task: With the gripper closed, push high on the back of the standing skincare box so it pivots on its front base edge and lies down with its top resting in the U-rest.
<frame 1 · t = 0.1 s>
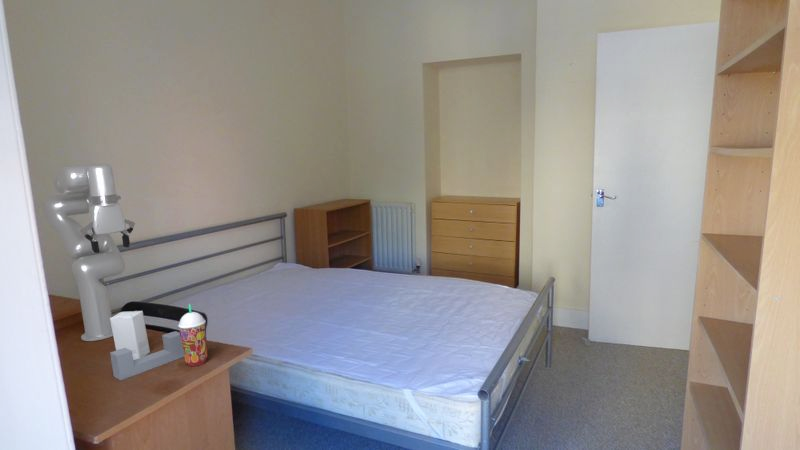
hand: (111, 249, 176), 36 cm above the table, tool pointing down, fingers open, 9 cm apart
skincare box: (133, 357, 174), on the table
u rest: (150, 365, 166), on the table
smoothie: (197, 363, 166), on the table
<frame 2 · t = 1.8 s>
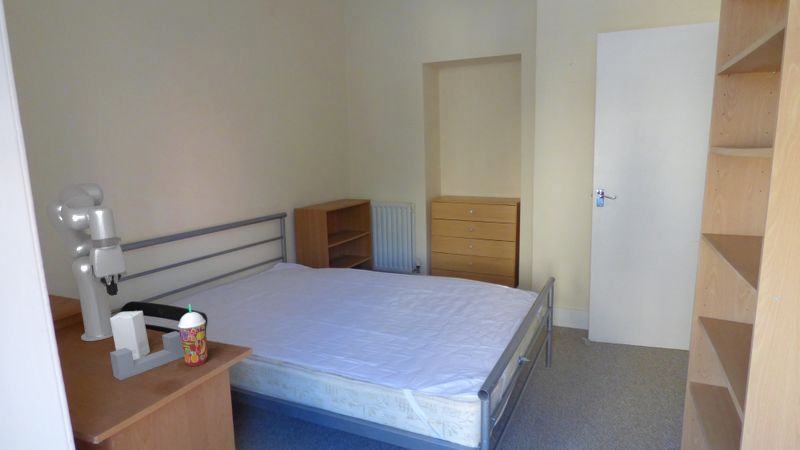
hand: (113, 294, 176), 21 cm above the table, tool pointing down, fingers closed
nothing on the table moved.
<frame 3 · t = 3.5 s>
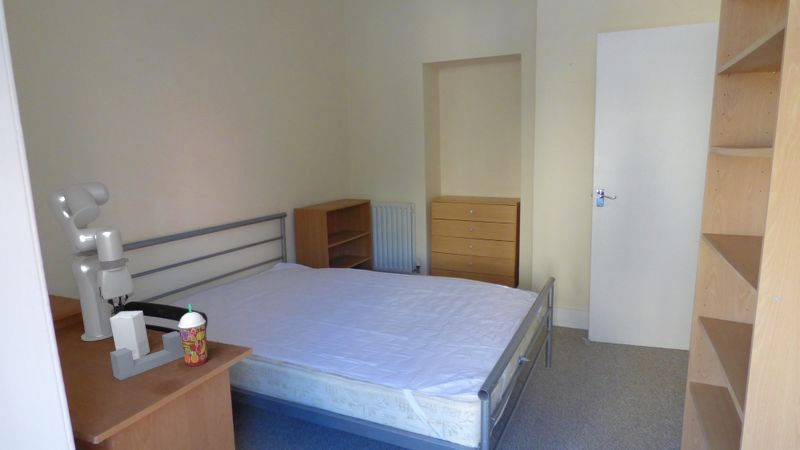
hand: (120, 315, 175), 14 cm above the table, tool pointing down, fingers closed
skincare box: (133, 357, 174), on the table, touching gripper
everything else where it was.
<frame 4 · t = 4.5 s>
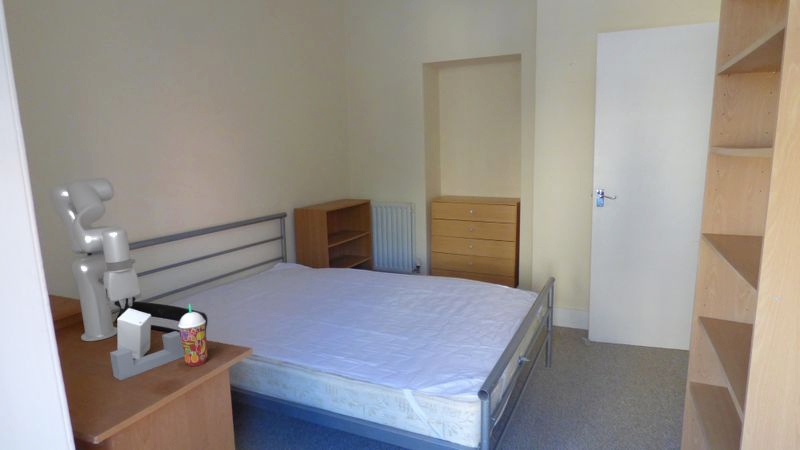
hand: (127, 318, 172), 14 cm above the table, tool pointing down, fingers closed
skincare box: (133, 351, 173), point 2 cm above the table
everything else where it was.
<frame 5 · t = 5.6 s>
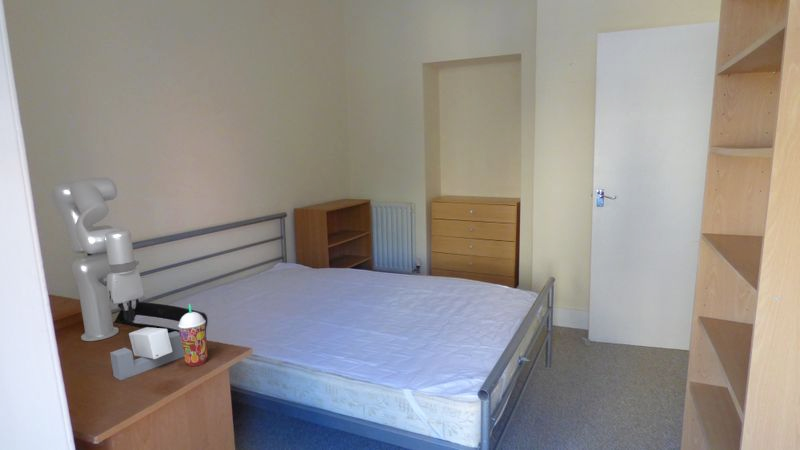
hand: (130, 320, 170), 14 cm above the table, tool pointing down, fingers closed
skincare box: (139, 340, 172), point 6 cm above the table, touching u rest
everything else where it was.
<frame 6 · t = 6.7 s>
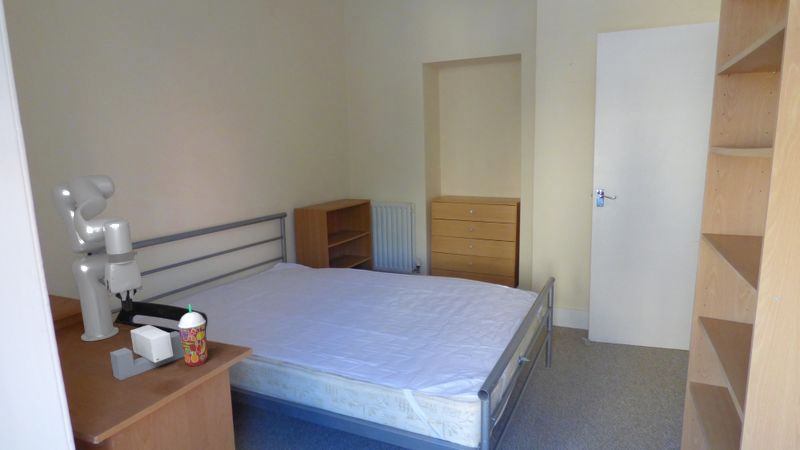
hand: (128, 310, 170), 17 cm above the table, tool pointing down, fingers closed
skincare box: (140, 338, 171), point 7 cm above the table, touching u rest
everything else where it was.
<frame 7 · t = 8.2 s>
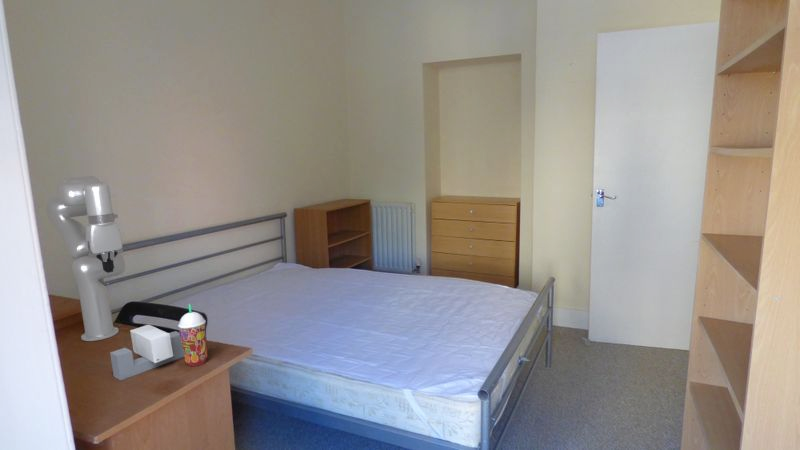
hand: (109, 271, 175), 29 cm above the table, tool pointing down, fingers closed
nothing on the table moved.
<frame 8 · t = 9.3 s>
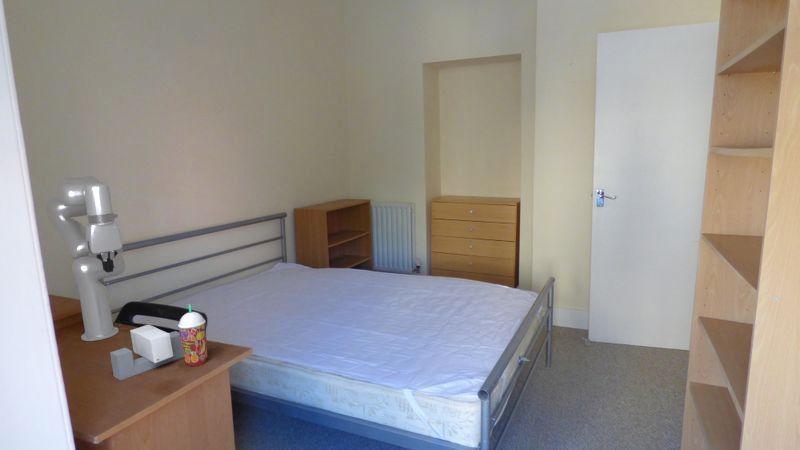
hand: (109, 271, 175), 29 cm above the table, tool pointing down, fingers closed
nothing on the table moved.
at the end: skincare box tilted 91°; skincare box touching u rest; skincare box inside the target area on the table beside the u rest (1.8 cm from its centre), point 7.3 cm above the table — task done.
